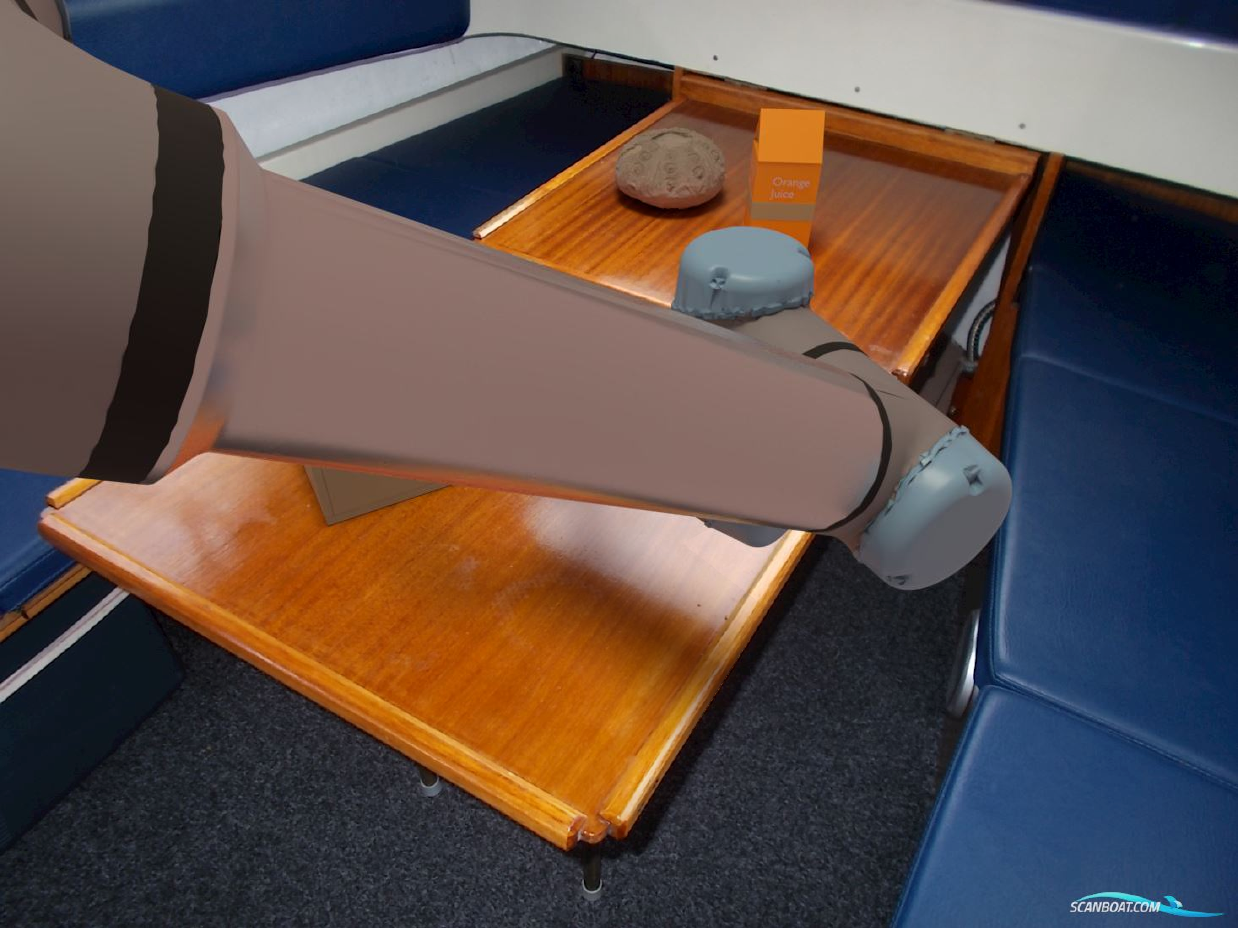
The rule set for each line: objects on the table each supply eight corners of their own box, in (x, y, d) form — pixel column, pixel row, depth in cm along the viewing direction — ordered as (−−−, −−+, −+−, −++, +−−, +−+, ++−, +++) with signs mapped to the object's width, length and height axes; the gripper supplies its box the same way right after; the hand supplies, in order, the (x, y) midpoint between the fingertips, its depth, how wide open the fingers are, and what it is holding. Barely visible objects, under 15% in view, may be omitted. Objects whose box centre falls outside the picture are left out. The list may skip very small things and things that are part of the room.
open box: (328, 526, 83) (309, 463, 78) (288, 430, 94) (270, 369, 88) (488, 472, 89) (481, 411, 84) (434, 388, 100) (424, 329, 95)
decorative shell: (654, 231, 131) (657, 167, 125) (592, 190, 142) (592, 129, 136) (744, 205, 139) (752, 143, 132) (679, 167, 150) (683, 109, 143)
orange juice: (741, 234, 131) (757, 98, 118) (799, 236, 131) (822, 100, 118) (745, 258, 125) (762, 119, 112) (806, 260, 125) (830, 121, 112)
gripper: (482, 533, 57) (297, 401, 67) (708, 374, 71) (528, 286, 81) (472, 446, 52) (274, 318, 62) (717, 294, 66) (524, 211, 76)
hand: (418, 299), depth 72 cm, fingers open, 13 cm apart
